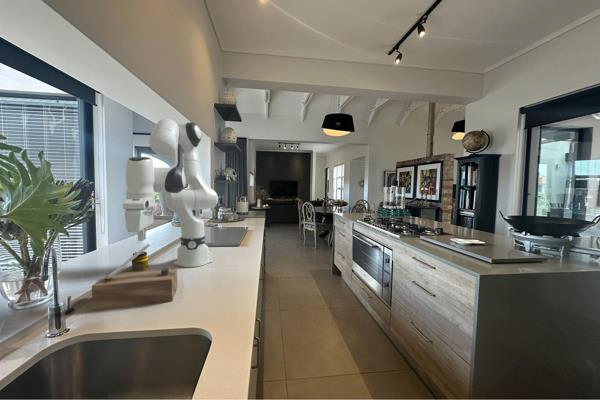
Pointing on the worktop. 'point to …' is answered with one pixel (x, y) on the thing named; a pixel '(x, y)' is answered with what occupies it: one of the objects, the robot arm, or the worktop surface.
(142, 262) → the condiment
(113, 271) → the latch bar
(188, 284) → the worktop surface
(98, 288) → the walnut case
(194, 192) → the robot arm
